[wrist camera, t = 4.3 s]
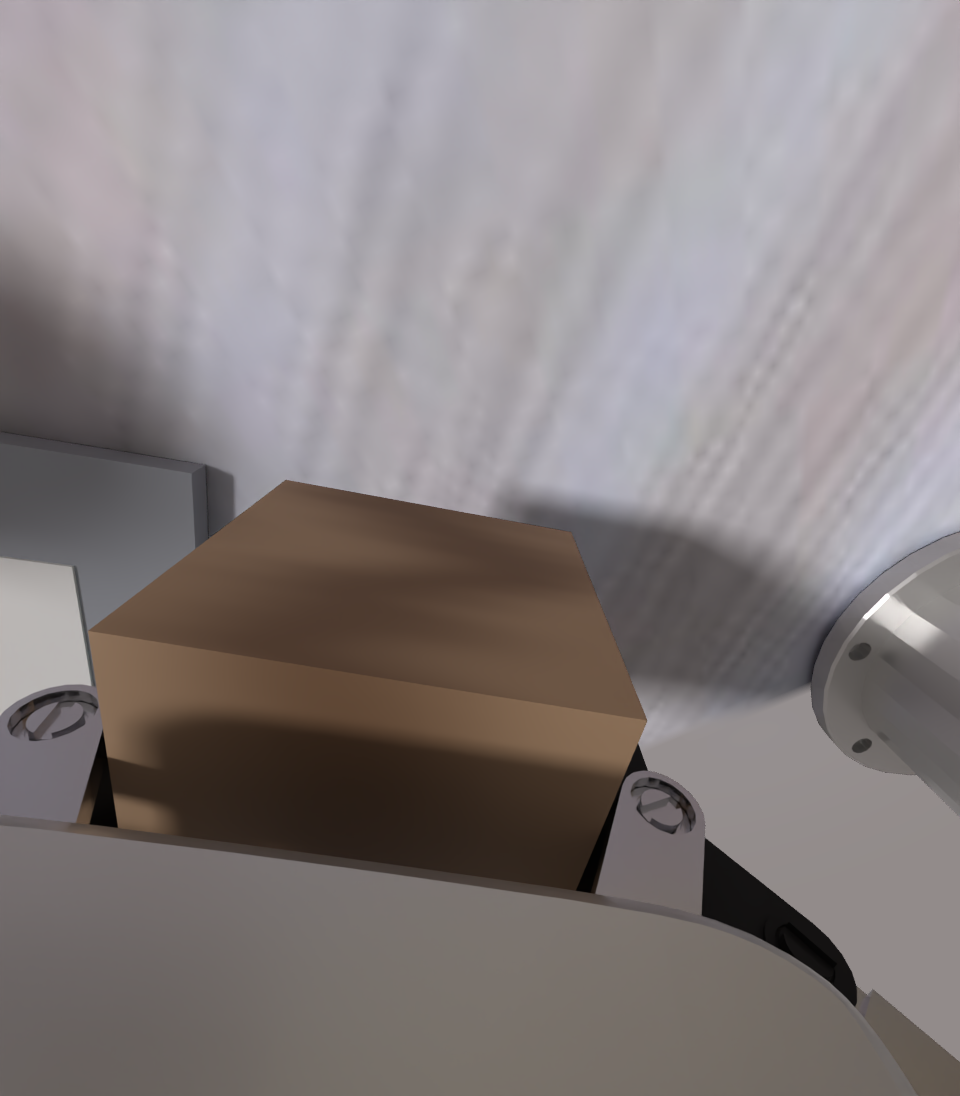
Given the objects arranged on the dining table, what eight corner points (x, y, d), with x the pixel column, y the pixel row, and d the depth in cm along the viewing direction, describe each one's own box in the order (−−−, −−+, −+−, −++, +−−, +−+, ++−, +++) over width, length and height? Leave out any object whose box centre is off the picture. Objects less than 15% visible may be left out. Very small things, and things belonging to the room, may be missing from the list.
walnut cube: (571, 532, 11) (647, 720, 6) (511, 742, 14) (525, 1007, 9) (285, 480, 11) (88, 631, 6) (278, 706, 14) (138, 961, 8)
